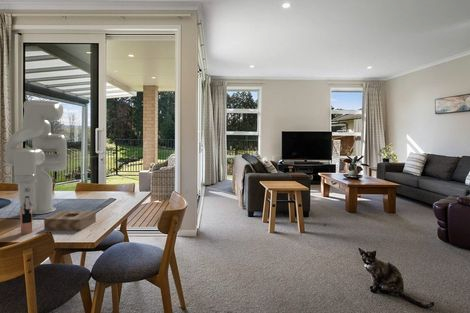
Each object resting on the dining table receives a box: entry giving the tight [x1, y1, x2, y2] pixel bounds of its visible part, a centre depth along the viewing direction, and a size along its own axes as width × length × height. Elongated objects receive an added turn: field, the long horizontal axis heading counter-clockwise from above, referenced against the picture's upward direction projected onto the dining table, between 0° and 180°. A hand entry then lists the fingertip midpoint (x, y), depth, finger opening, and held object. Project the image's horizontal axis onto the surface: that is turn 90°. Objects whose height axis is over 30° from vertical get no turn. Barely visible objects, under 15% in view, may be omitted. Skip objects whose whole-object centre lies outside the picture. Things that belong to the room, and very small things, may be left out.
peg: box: [19, 205, 33, 235], centre depth 124 cm, size 4×4×14 cm
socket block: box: [43, 210, 96, 232], centre depth 135 cm, size 16×14×5 cm
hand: (26, 221), depth 124 cm, fingers closed on peg, 4 cm apart
